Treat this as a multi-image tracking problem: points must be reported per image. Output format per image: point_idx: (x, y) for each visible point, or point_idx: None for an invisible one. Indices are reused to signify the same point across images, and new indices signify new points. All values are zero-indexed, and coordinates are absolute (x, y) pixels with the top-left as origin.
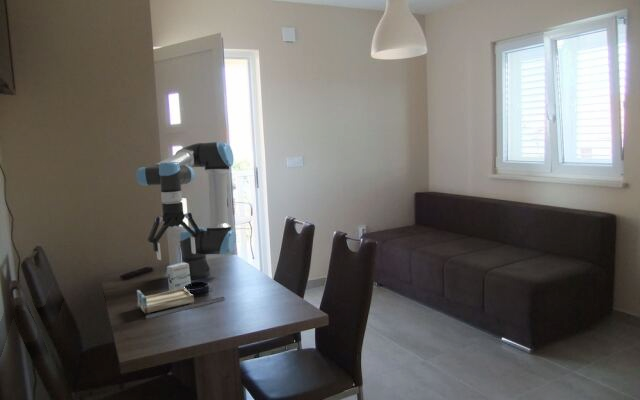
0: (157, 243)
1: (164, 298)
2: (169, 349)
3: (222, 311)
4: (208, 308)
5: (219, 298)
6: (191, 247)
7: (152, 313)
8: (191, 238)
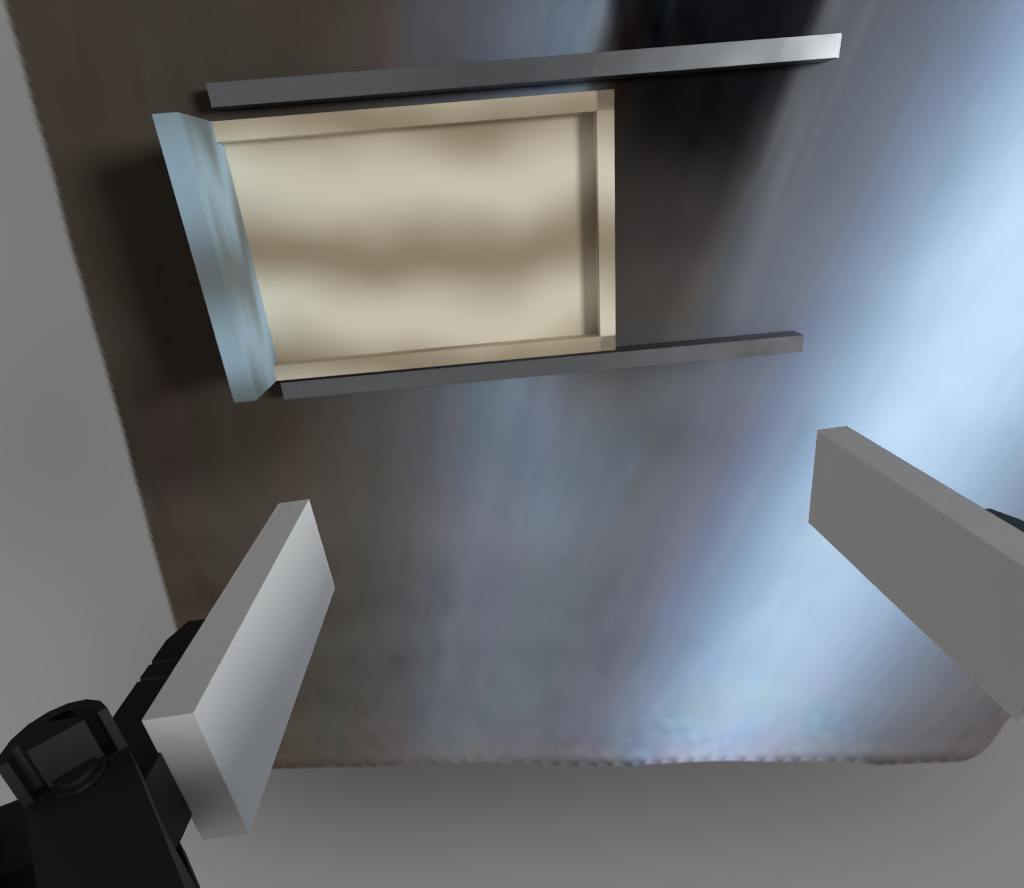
0: (198, 821)
1: (414, 238)
2: (378, 757)
3: (696, 515)
4: (652, 431)
5: (766, 354)
6: (870, 477)
7: (323, 380)
8: (1011, 626)
